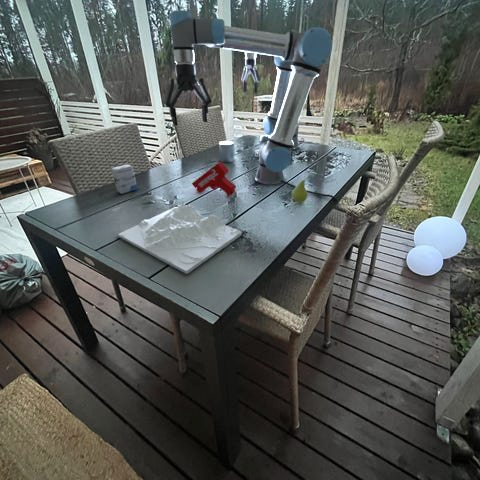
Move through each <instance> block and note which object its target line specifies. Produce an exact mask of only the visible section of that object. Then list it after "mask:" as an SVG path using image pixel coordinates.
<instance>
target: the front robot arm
mask: <svg viewBox="0 0 480 480" xmlns="http://www.w3.org/2000/svg"><path fill="white" fill-rule="evenodd" d="M169 21H170V22H169V23H170V24H169V25H170V35H171V43H172V50H173V51H172V52H173V59H174V63H176V64H175V65H174V67H175V69H174V70H175V76H176V78H175V79H174V78H168V87H167V91H166V94H165V97H164V102H163V106H164V107H167V108H168V110H169V116H170V117H172V125H173V126H178V118H177V116H178V115H177V109H176V107H175V105H176V104H177V101H178V100H179V98H180V96H181V95H182V94H183V92H184V93H185V92H193V93H194V94H195V95H196V97H197V98H198V99H199V101H200V102H201V103H202V104H201V117H202V123H203V122H204V123H207V122H208V117H207V116H208V115H207V114H208V113H209V105H210V104H212V102H213V101H212V98H211V96H210V94H209V91H208V90H207V87H206V86H205V81H204V78H203V77H198V78H196V74H197V73H196V65H195V64H194V63H195V51H194V45H195V46H196V45H197V46H198V45H203V46H204V45H205V46H206V47H208V48H218V49H225V50H232V51H238V52H244V53H245V52H251V53H256V54H259V55H265V56H273V57H274V56H278V57H281V58H282V59H283V60H286V61H291V62H292V65H291V67H292V70H293V73H292V76H291V80H290V84H289V87H288V90H287V93H286V96H285V99H284V102H283V106H282V109H281V112H280V115H279V118H278V121H277V124H276V127H275V131H274V133H273V134H272V135H267V134H263V135H261V136H260V137H259V153H258V157H259V158H258V167H257V171H256V172H255V178H254V181H255V183H258V184H259V185H262V186H263V185H264V186H279V185H281V184H285V185H287V186H289V187H292V188H293V189H295V188H296V187H297V185H293V184H292V183H289V182H288V181H285V175H284V172H283V171H285V170H286V169H287V168H288V167H289V166H290V164H291V163H292V151H293V150H292V148H293V145H294V143H293V141H292V138H293V135H294V132H295V129H296V127H297V124H298V121H300V118H301V117H302V112H303V110H304V107H305V104H306V101H307V100H308V99H307V98H308V96H309V93H310V90H311V87H312V85H313V82H314V79H316V77H318V76H320V74H321V71H322V69H323V66H324V64H325V63H326V62H327V61H328V59H329V58H330V56H331V54H332V51H333V39H332V36H331V34H330V32H329V31H328V30H327V29H325V28H324V27H320V26H319V27H318V26H316V27H315V26H314V27H311V28H309V29H307V30H305V31H301V32H289V31H288V32H286V33H285V34H281V33H277V32H276V33H275V32H268V31H263V30H257V29H248V28H242V27H236V26H229V25H225V20H224V19H222V18H217V17H214V18H193V17H192V14H191V12H190V11H188V10H180V9H179V10H172V11H171V12H170V13H169ZM176 85H177V88H176V90H175V91H174V89H175V86H176ZM196 85H198V86H199V89H198V87H197V86H196ZM200 90H201V92H202V93H201V92H200ZM173 92H175V93H174V94H173ZM306 190H307V189H306ZM307 192H308V194H312V195H317V196H321V197H325V198H326V197H327V198H331V199H333V201H334V202H337V198H336V197H335V196H334V195H332V194H325V193H320V192H315V191H311V190H307Z"/></svg>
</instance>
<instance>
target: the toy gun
mask: <svg viewBox="0 0 480 480" xmlns="http://www.w3.org/2000/svg"><path fill="white" fill-rule="evenodd" d="M228 173H229V169H228V168H227V166H226V165H225V163H224V162H221V161H220V160H219V162H217V163H216V164H214V166H212V167H211V168H210V169H209V170H207V171H206V172H204V173H203V174H202V175H201V176H199V177H198V178H197V179H196V180H194V181H193V182H192V183H191V184H192V186H193V187H194V189H195V190H196V191H197V193H199V194H201V193H203V192H204V191H205V190H207V189H208V188H210V189H211V190H213V191H215V190H216V189H218V188H219V189H220V190H222V191H223V192H224V193H225V194H226V196H227V197H229V196H230V195H233V194H235V192H236V188H237V186H236V184H235V183H233V182H232V181H230V180H229V179H228V178H227V177H226V175H227V174H228Z"/></svg>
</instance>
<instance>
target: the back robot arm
mask: <svg viewBox="0 0 480 480" xmlns="http://www.w3.org/2000/svg"><path fill="white" fill-rule="evenodd" d="M244 55H245V57H244V60H245V61H244V62H245V63H244V64H245V66H243V71H242V74H241V78H240V81H241V82H242V92H243V93H245V92H247V91H248V90H247V86H248V85H247V84H248V83H247V80H248V78H249V76H250V75H251V76H252V79H253V93H254V94H257V93H258V88H259V86H258V85H259V83H260V82H261V79H260V75H259V70H258V66H256V65H257V63H256V61H257V60H256V58H257V53H251V52H244ZM273 58H274V60H273V61H274V64H275V66H276V70H277V75H276V81H275V85H274V92H273V97H272V102H271V107H270V111H268V112H267V116H266V117H264V118H263V119H262V120H263V121H262V127H263V131H264V132H265V135H272V134H273V133H274V131H275V127H276V124H277V121H278V118H279V115H280V112H281V109H282V106H283V102H284V99H285V96H286V93H287V90H288V87H289V84H290V81H291V77H292V74H293V70H292V67H291V65H292V62H291V61H286V60H283V59H282V58H281V57H278V56H273ZM299 127H300V120H299V121H298V124H297V127H296V129H295V132H294V135H293V138H292V141H293V143H294V145H293V148H292V151H295V150H298V149H299V148H300V143H304V142H305V141H306V140H305V138H304V137H301V138H300V140H299ZM294 148H295V149H294Z"/></svg>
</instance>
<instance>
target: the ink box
mask: <svg viewBox="0 0 480 480" xmlns="http://www.w3.org/2000/svg"><path fill="white" fill-rule="evenodd" d="M110 170H111V173H112V176H113V181H114V184H115V188H116V191H117V192H118V193H119V194H121V195H122V194H126V193H130V192H132V191H133V192H134V191H136V190H138V185H137V181H136V177H135V171H134V167H133V165H130V164H124V165H120V166H119V165H118V166H115V167H111V168H110Z"/></svg>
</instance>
